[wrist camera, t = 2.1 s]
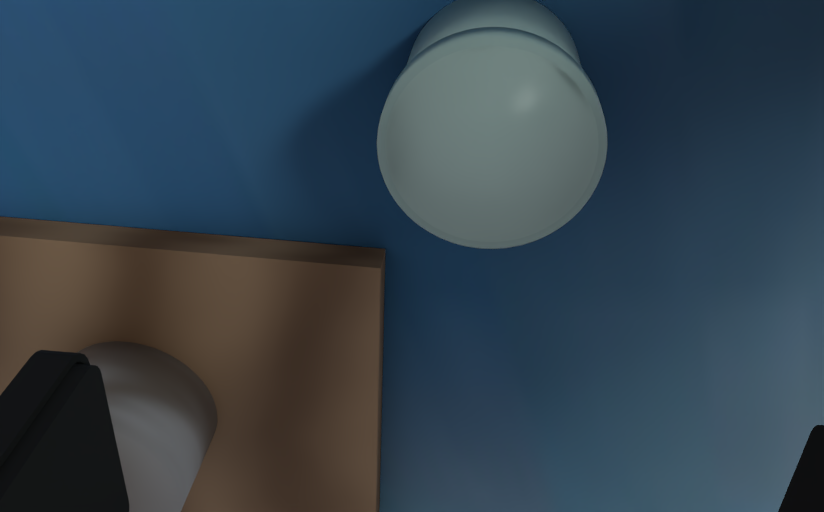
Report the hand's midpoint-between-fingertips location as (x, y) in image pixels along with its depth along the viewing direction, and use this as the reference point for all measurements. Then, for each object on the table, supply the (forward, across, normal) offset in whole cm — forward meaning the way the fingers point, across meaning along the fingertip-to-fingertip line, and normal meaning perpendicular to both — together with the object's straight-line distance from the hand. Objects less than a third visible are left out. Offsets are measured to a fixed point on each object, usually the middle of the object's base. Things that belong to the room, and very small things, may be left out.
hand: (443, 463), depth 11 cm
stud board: (+15, +11, +12) cm, 23 cm away
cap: (+15, -1, 0) cm, 15 cm away
